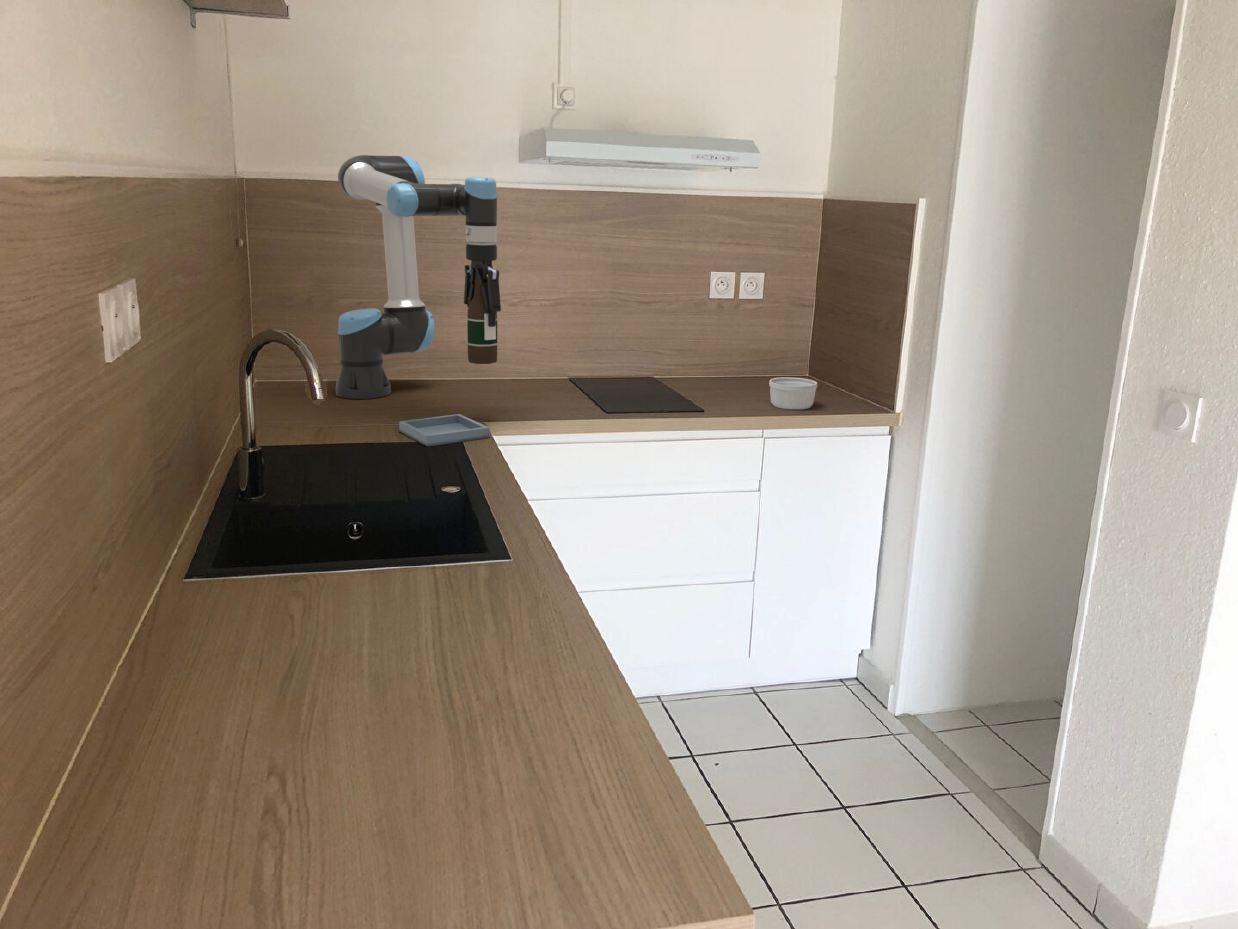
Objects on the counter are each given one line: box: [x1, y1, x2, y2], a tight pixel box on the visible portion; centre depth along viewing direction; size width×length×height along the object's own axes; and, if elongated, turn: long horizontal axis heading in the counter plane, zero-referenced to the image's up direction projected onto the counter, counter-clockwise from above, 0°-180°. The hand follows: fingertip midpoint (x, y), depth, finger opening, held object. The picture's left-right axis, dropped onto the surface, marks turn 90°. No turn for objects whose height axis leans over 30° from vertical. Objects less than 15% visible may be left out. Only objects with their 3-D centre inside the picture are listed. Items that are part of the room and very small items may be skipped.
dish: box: [398, 413, 490, 448], centre depth 235 cm, size 16×16×2 cm
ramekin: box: [768, 376, 818, 411], centre depth 273 cm, size 13×13×7 cm
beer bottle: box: [466, 265, 498, 365], centre depth 242 cm, size 8×8×24 cm
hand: (482, 336), depth 244 cm, fingers closed on beer bottle, 8 cm apart
